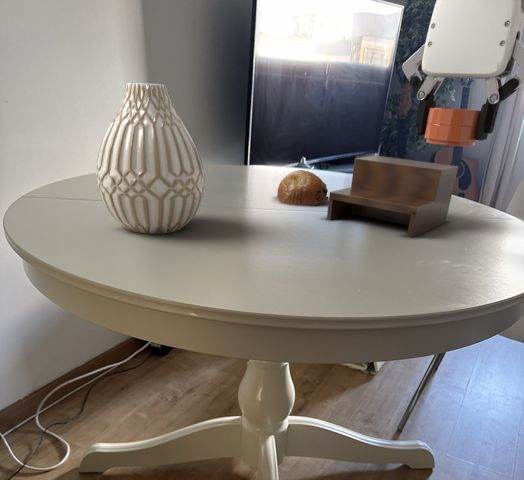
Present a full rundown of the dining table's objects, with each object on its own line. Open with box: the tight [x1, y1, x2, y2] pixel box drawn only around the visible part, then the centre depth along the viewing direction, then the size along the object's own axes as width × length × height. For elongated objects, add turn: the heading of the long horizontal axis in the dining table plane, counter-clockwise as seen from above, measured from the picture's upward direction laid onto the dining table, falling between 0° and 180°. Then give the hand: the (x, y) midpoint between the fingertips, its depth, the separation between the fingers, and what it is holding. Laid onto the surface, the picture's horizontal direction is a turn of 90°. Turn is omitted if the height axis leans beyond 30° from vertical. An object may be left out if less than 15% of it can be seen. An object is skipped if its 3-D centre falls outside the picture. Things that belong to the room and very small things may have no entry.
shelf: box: [326, 155, 459, 239], centre depth 85 cm, size 16×16×10 cm
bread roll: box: [276, 169, 329, 207], centre depth 98 cm, size 10×10×8 cm
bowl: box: [423, 107, 481, 147], centre depth 61 cm, size 7×7×4 cm
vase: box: [95, 82, 206, 235], centre depth 71 cm, size 16×16×20 cm
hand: (451, 135), depth 61 cm, fingers closed on bowl, 6 cm apart
